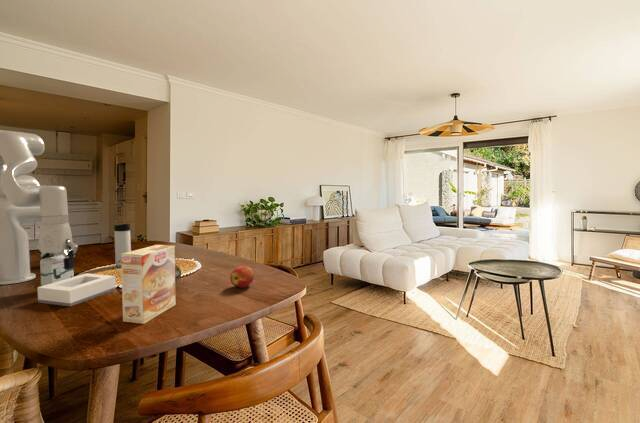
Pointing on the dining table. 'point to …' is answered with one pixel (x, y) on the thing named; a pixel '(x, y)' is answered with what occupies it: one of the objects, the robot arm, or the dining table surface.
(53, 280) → the ink box
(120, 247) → the travel mug
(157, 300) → the coffeecake box
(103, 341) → the dining table surface
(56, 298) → the holder block
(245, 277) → the apple
